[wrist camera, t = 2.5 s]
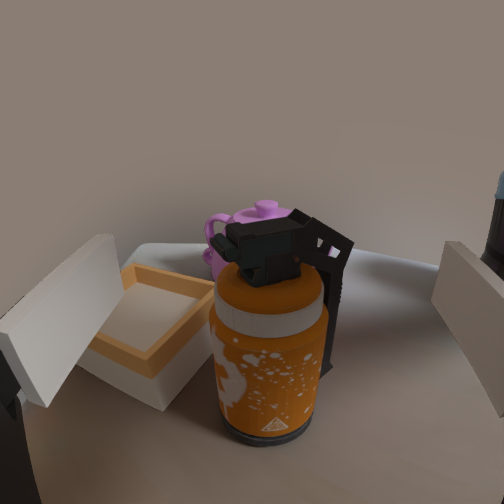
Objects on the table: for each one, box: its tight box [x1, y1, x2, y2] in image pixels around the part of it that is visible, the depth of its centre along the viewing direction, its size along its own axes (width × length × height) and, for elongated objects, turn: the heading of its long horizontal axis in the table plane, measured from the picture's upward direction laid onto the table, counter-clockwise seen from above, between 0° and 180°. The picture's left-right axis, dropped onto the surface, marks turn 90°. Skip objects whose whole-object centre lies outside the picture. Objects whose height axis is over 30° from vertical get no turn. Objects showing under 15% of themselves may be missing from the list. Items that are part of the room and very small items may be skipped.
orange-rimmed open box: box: [76, 263, 215, 412], centre depth 36 cm, size 15×15×8 cm
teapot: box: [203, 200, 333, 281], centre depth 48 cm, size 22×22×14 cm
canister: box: [209, 208, 354, 446], centre depth 26 cm, size 9×11×20 cm
